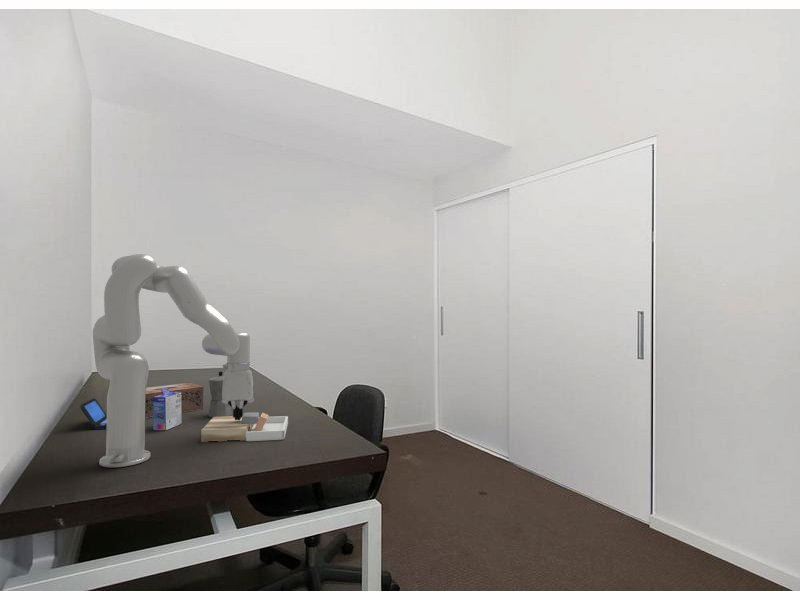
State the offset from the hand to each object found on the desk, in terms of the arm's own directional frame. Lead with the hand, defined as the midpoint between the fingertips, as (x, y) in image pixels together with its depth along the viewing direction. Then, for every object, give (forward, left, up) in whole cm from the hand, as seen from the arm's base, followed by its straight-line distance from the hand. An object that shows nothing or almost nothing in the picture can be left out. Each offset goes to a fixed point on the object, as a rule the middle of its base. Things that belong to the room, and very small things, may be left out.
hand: (237, 419), depth 158 cm
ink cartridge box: (+13, +27, -5) cm, 30 cm away
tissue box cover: (+40, +36, -5) cm, 54 cm away
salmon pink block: (0, -7, -1) cm, 7 cm away
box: (0, -10, -5) cm, 11 cm away
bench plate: (0, +3, -5) cm, 6 cm away
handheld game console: (+21, +51, -5) cm, 55 cm away
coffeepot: (+28, +11, -5) cm, 30 cm away
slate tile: (0, -4, -1) cm, 4 cm away
